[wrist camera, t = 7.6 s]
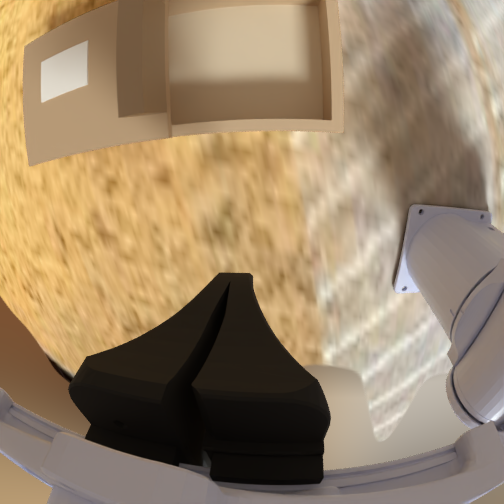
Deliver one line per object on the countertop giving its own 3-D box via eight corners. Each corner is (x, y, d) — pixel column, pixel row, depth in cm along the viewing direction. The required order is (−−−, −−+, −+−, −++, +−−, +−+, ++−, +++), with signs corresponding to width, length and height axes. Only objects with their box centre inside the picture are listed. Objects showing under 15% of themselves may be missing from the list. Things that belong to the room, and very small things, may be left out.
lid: (169, -11, 10) (146, -34, 7) (172, 137, 15) (146, 143, 12) (29, 46, 11) (-3, 45, 8) (34, 164, 16) (1, 177, 13)
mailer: (325, 2, 13) (335, -18, 10) (331, 130, 18) (343, 133, 14) (157, 14, 14) (136, -1, 11) (160, 136, 19) (139, 141, 15)
